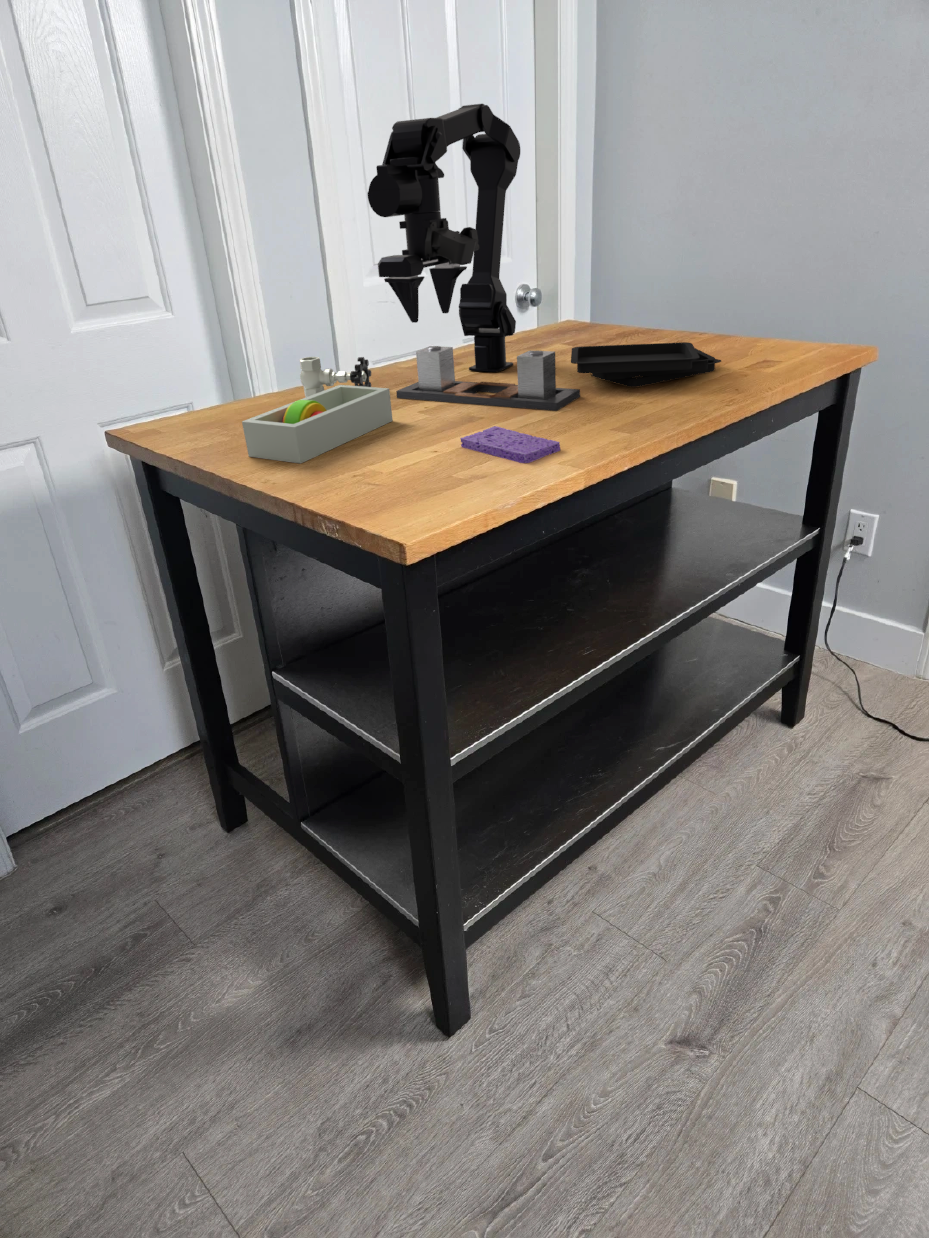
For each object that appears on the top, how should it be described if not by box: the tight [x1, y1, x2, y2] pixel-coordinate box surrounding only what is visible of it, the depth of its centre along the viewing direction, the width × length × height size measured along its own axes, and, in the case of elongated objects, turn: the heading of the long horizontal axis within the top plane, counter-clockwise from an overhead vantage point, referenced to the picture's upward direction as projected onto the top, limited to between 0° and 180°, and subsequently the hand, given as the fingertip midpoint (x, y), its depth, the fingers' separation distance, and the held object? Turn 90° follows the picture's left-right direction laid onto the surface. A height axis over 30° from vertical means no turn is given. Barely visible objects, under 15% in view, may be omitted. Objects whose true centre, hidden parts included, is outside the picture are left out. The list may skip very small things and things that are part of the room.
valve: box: [299, 356, 372, 398], centre depth 145 cm, size 7×7×12 cm
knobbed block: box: [415, 345, 456, 392], centre depth 141 cm, size 4×4×8 cm
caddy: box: [241, 384, 393, 464], centre depth 122 cm, size 22×10×5 cm, turn 150°
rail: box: [396, 380, 581, 412], centre depth 138 cm, size 30×9×1 cm, turn 60°
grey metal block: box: [516, 350, 557, 400], centre depth 132 cm, size 4×4×8 cm
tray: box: [570, 341, 722, 388], centre depth 141 cm, size 30×23×5 cm
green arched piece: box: [282, 399, 327, 424], centre depth 121 cm, size 6×20×7 cm, turn 150°
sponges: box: [459, 425, 561, 464], centre depth 112 cm, size 7×13×2 cm, turn 43°
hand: (430, 317), depth 137 cm, fingers open, 9 cm apart
